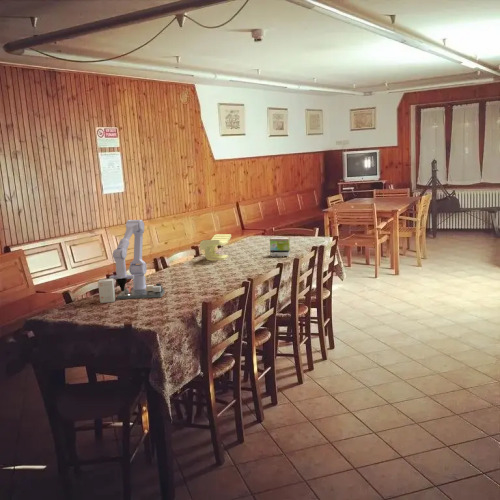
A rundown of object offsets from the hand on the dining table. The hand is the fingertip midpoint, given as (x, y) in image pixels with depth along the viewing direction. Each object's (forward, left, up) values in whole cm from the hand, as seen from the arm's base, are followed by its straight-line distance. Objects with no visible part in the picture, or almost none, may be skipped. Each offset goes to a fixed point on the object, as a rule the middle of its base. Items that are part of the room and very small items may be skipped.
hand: (122, 290), depth 323 cm
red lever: (+2, +4, -1) cm, 4 cm away
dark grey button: (-4, +21, 0) cm, 21 cm away
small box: (+11, -6, -4) cm, 13 cm away
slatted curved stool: (-110, +48, -4) cm, 120 cm away
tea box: (-113, +99, -4) cm, 150 cm away
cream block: (-3, +16, -1) cm, 16 cm away
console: (0, +11, -3) cm, 12 cm away
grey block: (+1, +21, -1) cm, 21 cm away
